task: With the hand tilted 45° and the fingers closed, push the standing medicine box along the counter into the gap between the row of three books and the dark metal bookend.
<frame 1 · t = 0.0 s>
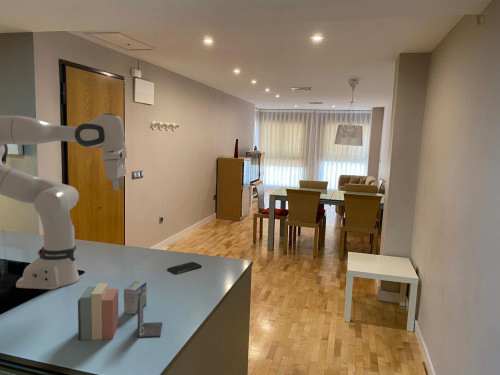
hand: (118, 188, 146), 39 cm above the kitchen island, tool pointing down, fingers open, 8 cm apart
books: (100, 332, 109), on the kitchen island
medicine box: (135, 309, 125), on the kitchen island
bookends: (140, 330, 111), on the kitchen island
phone: (184, 269, 167), on the kitchen island
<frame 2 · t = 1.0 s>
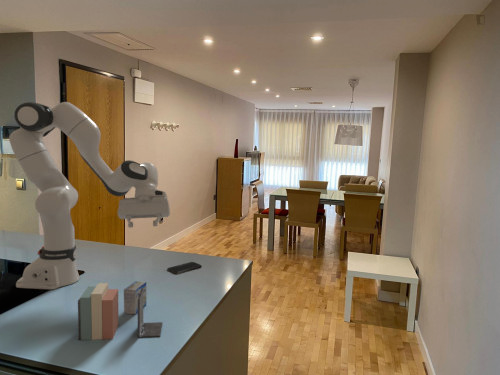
hand: (142, 226, 140), 25 cm above the kitchen island, tool tilted 45°, fingers open, 8 cm apart
nothing on the kitchen island moved.
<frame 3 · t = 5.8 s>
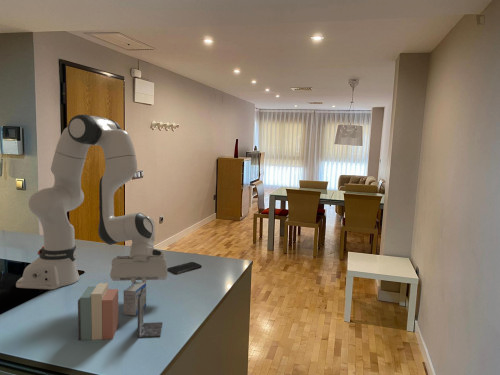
hand: (137, 290, 128), 5 cm above the kitchen island, tool tilted 45°, fingers closed
medicine box: (135, 310, 124), on the kitchen island, touching gripper
everything else where it was.
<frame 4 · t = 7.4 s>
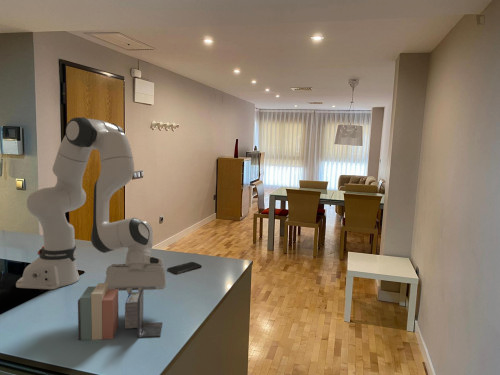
hand: (133, 302, 119), 5 cm above the kitchen island, tool tilted 45°, fingers closed, pressing on medicine box
medicine box: (133, 323, 115), on the kitchen island, touching gripper
everything else where it was.
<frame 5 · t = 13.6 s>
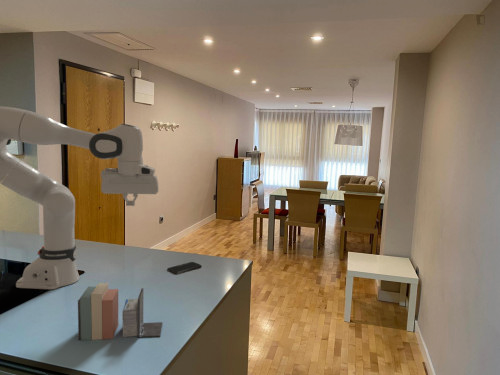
hand: (130, 205, 134), 34 cm above the kitchen island, tool pointing down, fingers closed
medicine box: (131, 331, 111), on the kitchen island
everything else where it was.
at the end: medicine box 1.3 cm from the target spot, on the kitchen island; medicine box tilted 0° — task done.
